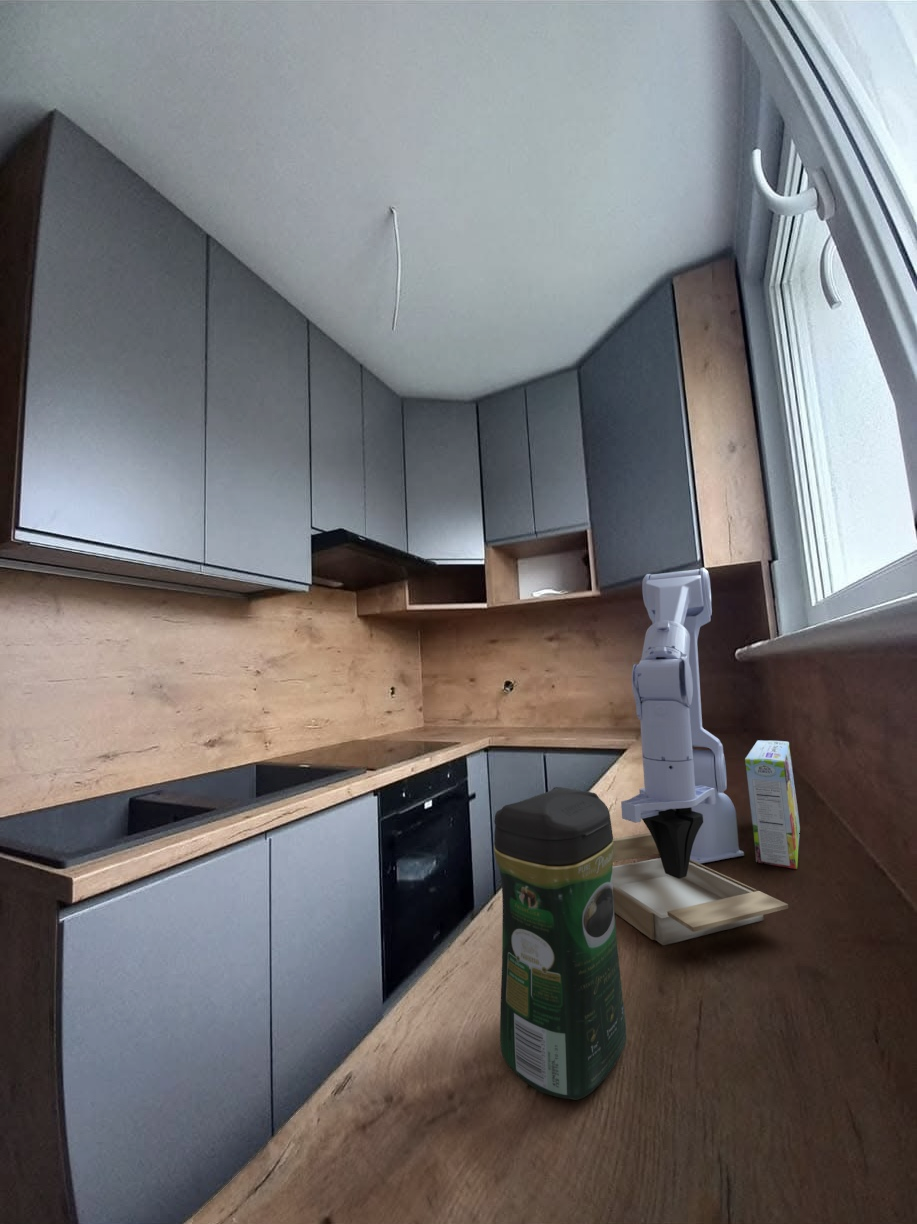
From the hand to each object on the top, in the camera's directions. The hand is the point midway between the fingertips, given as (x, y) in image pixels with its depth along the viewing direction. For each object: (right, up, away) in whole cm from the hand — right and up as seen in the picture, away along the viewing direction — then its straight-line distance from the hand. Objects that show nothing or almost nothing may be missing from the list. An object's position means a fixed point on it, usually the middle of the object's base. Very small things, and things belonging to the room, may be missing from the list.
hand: (675, 874), depth 58 cm
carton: (0, -4, 0) cm, 4 cm away
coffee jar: (-18, -2, -22) cm, 28 cm away
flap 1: (-2, -2, +7) cm, 7 cm away
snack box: (+25, -6, +20) cm, 33 cm away
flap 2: (+2, 0, -5) cm, 5 cm away
